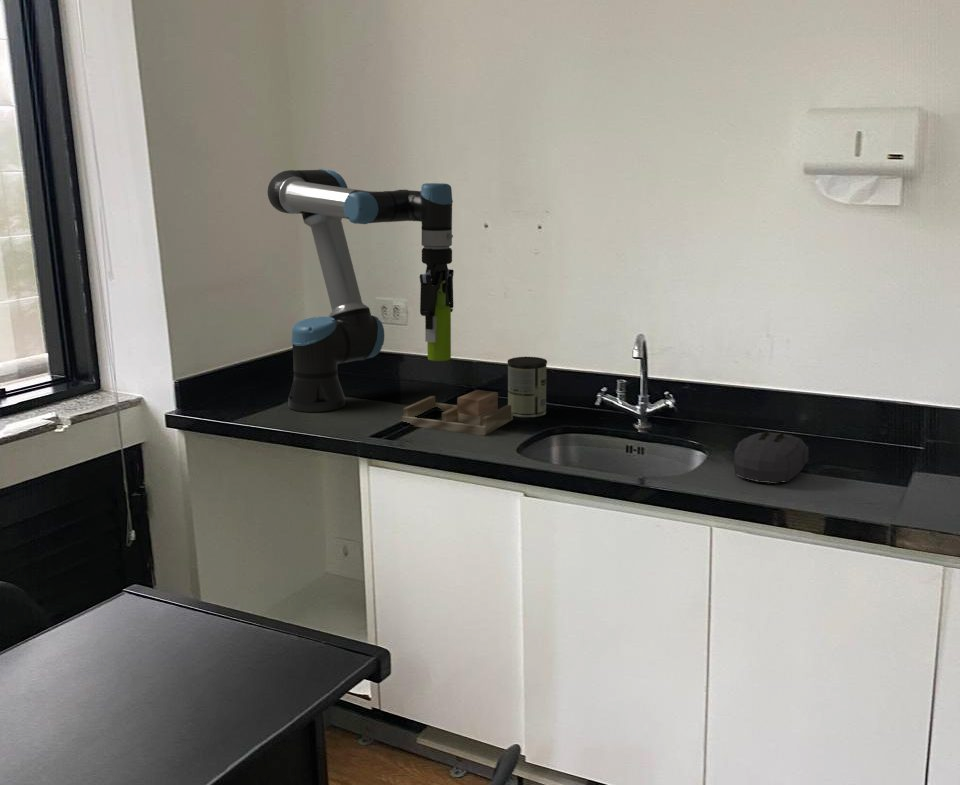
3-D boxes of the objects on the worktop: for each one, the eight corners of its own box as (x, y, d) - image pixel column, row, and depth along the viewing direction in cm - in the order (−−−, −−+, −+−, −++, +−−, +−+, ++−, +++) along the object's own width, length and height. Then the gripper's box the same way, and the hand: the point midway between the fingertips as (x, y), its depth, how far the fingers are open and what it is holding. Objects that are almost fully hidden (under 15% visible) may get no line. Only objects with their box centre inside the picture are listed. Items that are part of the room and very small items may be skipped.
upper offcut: (457, 413, 252) (457, 397, 251) (477, 404, 260) (477, 389, 259) (478, 416, 249) (478, 400, 248) (497, 407, 257) (497, 392, 257)
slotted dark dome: (745, 456, 230) (720, 480, 213) (747, 420, 228) (722, 442, 211) (813, 466, 223) (794, 492, 206) (816, 429, 221) (797, 452, 204)
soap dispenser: (428, 355, 261) (428, 277, 256) (454, 357, 258) (453, 278, 254) (420, 359, 255) (419, 280, 250) (446, 361, 253) (445, 281, 248)
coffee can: (508, 407, 273) (508, 356, 270) (546, 408, 272) (547, 356, 269) (505, 417, 263) (506, 363, 260) (545, 418, 262) (546, 364, 259)
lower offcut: (458, 429, 252) (458, 413, 251) (476, 420, 261) (476, 405, 260) (480, 432, 250) (480, 416, 249) (497, 422, 258) (497, 407, 258)
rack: (401, 424, 256) (401, 409, 255) (433, 409, 270) (433, 395, 269) (484, 435, 246) (484, 419, 245) (512, 419, 260) (512, 404, 259)
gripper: (431, 251, 240) (432, 347, 246) (467, 244, 257) (467, 334, 262) (404, 249, 244) (405, 344, 249) (441, 243, 260) (441, 332, 266)
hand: (437, 339), depth 256 cm, fingers closed on soap dispenser, 6 cm apart
